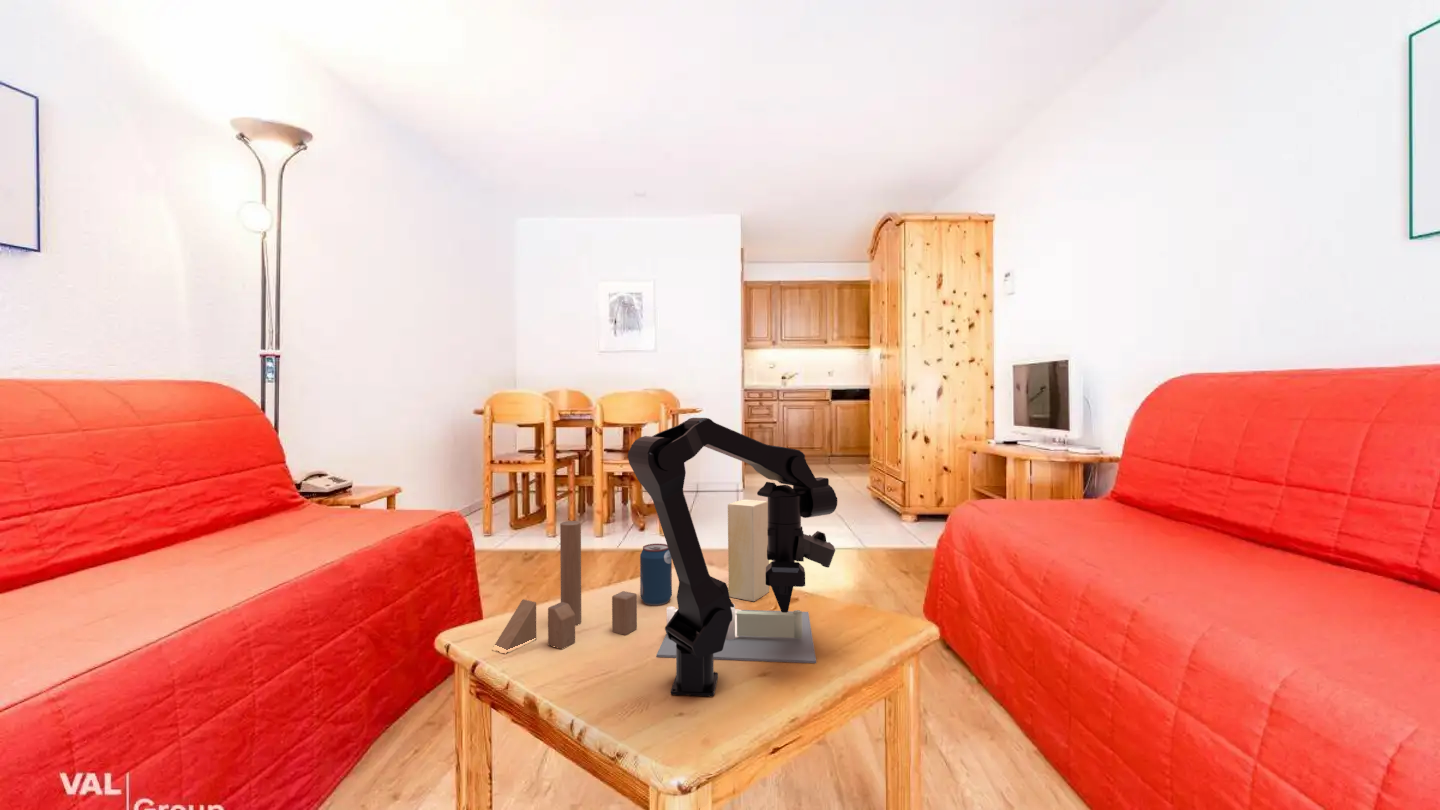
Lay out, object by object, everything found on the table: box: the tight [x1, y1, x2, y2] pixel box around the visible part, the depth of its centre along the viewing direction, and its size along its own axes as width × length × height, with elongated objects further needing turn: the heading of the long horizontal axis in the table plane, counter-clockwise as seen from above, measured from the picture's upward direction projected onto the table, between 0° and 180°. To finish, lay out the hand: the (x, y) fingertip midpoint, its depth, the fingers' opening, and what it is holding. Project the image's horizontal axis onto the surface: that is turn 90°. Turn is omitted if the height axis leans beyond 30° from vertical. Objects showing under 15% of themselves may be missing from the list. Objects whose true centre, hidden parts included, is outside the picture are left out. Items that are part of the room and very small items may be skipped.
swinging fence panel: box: [737, 609, 803, 639], centre depth 100 cm, size 2×12×4 cm, turn 84°
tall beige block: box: [727, 499, 770, 602], centre depth 125 cm, size 8×7×21 cm
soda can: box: [639, 543, 673, 606], centre depth 121 cm, size 7×7×12 cm
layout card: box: [655, 603, 817, 664], centre depth 103 cm, size 22×27×6 cm
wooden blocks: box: [494, 520, 638, 650], centre depth 101 cm, size 17×20×20 cm
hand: (784, 611), depth 94 cm, fingers closed
